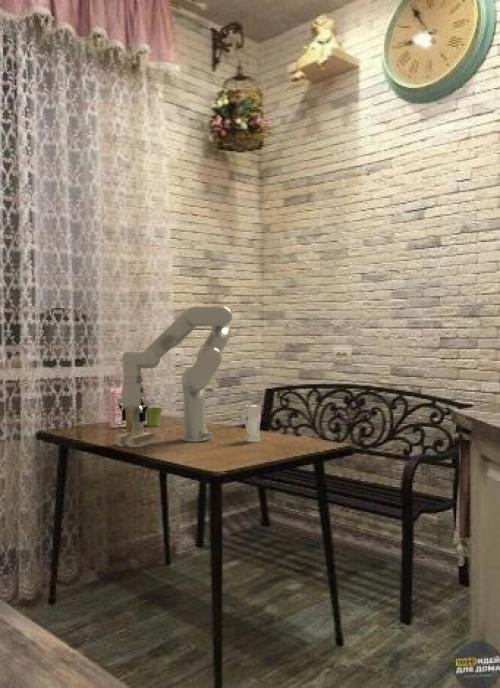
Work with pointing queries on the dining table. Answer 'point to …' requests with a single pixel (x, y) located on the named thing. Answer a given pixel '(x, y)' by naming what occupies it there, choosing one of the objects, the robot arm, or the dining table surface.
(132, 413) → the skincare box
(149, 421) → the plant pot
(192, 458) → the dining table surface
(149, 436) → the birch base block
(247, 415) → the beer glass
